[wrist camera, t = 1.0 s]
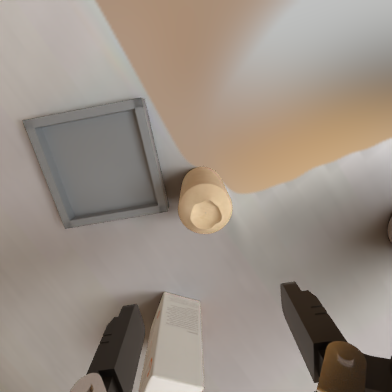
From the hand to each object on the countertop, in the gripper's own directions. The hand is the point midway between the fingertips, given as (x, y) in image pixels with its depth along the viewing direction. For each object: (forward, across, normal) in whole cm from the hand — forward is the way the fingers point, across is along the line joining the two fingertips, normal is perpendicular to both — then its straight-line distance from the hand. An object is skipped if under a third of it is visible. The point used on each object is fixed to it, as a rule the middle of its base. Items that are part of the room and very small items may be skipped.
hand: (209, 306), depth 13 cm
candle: (+20, 0, -1) cm, 20 cm away
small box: (+20, +8, +20) cm, 30 cm away
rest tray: (+20, +12, -6) cm, 24 cm away
